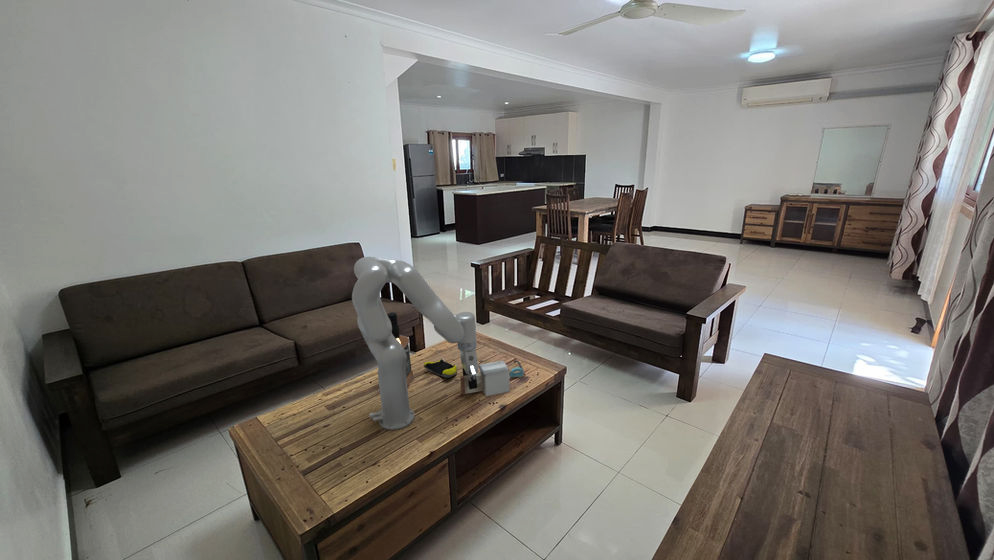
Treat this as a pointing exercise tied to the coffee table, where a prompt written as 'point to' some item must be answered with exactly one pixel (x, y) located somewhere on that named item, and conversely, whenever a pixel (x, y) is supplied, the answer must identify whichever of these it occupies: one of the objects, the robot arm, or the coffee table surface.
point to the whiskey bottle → (404, 343)
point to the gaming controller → (441, 368)
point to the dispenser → (495, 378)
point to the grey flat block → (465, 384)
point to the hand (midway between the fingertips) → (470, 382)
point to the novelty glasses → (516, 370)
